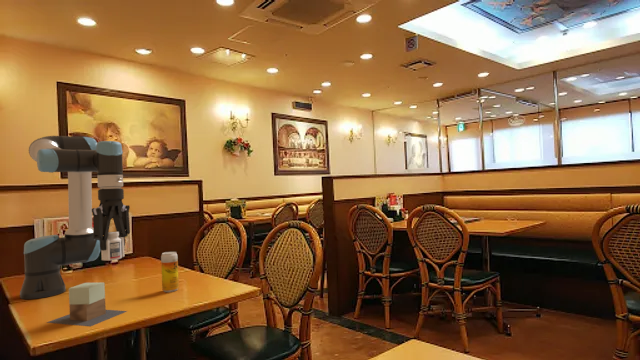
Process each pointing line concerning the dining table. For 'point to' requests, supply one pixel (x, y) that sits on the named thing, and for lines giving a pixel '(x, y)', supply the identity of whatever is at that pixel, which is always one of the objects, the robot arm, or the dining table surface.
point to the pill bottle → (115, 246)
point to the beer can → (169, 271)
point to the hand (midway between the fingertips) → (113, 258)
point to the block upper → (86, 293)
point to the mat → (91, 322)
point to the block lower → (87, 310)
